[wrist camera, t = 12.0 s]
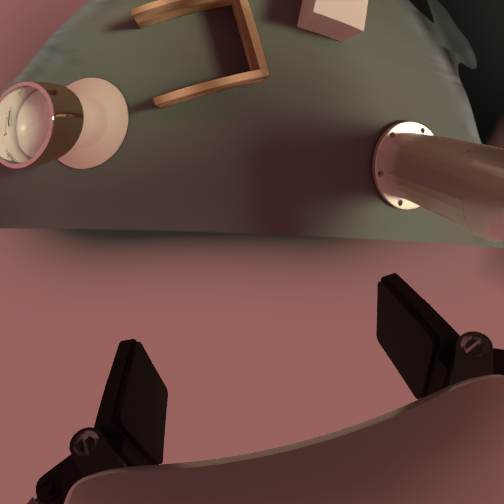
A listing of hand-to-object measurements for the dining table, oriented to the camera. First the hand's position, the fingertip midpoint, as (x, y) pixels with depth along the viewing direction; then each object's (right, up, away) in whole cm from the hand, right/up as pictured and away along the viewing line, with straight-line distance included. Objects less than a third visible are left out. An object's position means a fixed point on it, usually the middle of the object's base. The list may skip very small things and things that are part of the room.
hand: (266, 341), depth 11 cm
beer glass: (-20, +18, +18) cm, 32 cm away
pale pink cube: (+8, +33, +18) cm, 38 cm away
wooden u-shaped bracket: (-6, +26, +18) cm, 32 cm away
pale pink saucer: (-20, +18, +19) cm, 33 cm away
